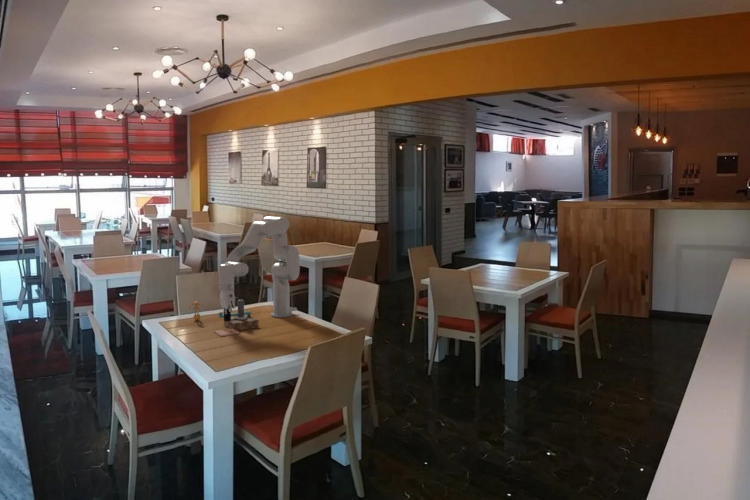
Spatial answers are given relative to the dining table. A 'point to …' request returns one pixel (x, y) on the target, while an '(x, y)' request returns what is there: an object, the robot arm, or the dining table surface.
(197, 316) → the figurine
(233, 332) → the tile
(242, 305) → the plug
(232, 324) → the socket block
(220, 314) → the clip
